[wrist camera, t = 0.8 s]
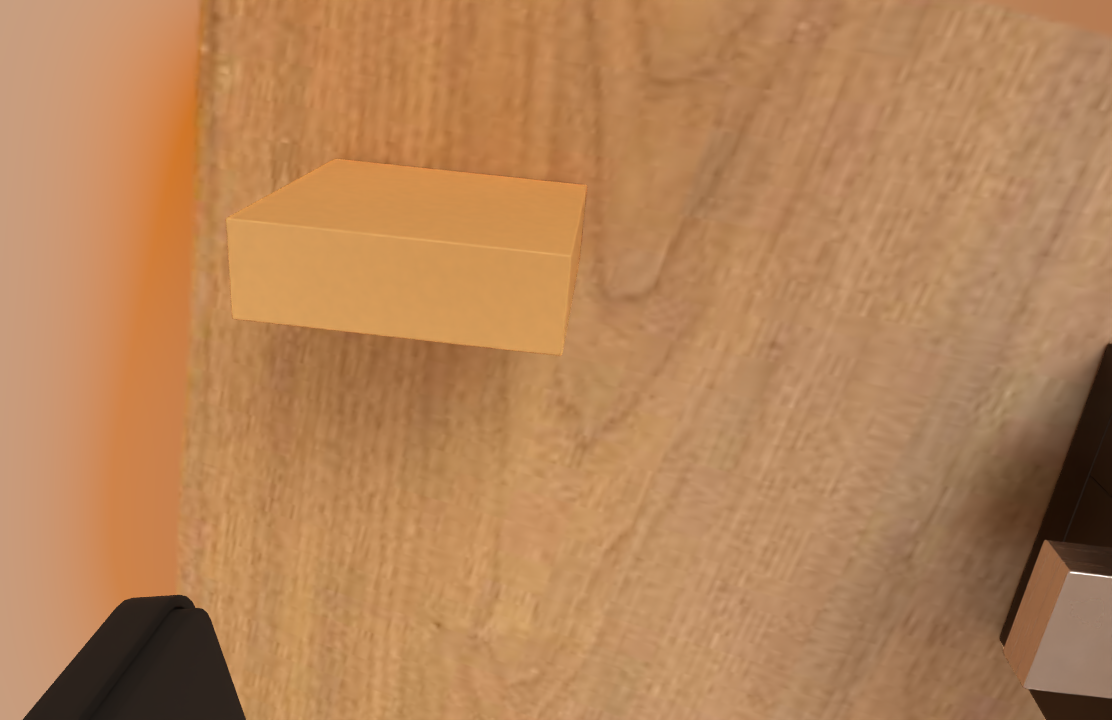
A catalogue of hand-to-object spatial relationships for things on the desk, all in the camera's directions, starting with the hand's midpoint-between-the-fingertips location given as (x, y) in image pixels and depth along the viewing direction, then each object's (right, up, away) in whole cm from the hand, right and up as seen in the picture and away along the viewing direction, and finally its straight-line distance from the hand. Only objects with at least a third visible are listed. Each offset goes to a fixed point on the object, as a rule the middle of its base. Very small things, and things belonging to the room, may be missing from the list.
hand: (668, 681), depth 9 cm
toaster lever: (+14, -4, +16) cm, 21 cm away
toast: (-4, +8, +19) cm, 21 cm away
